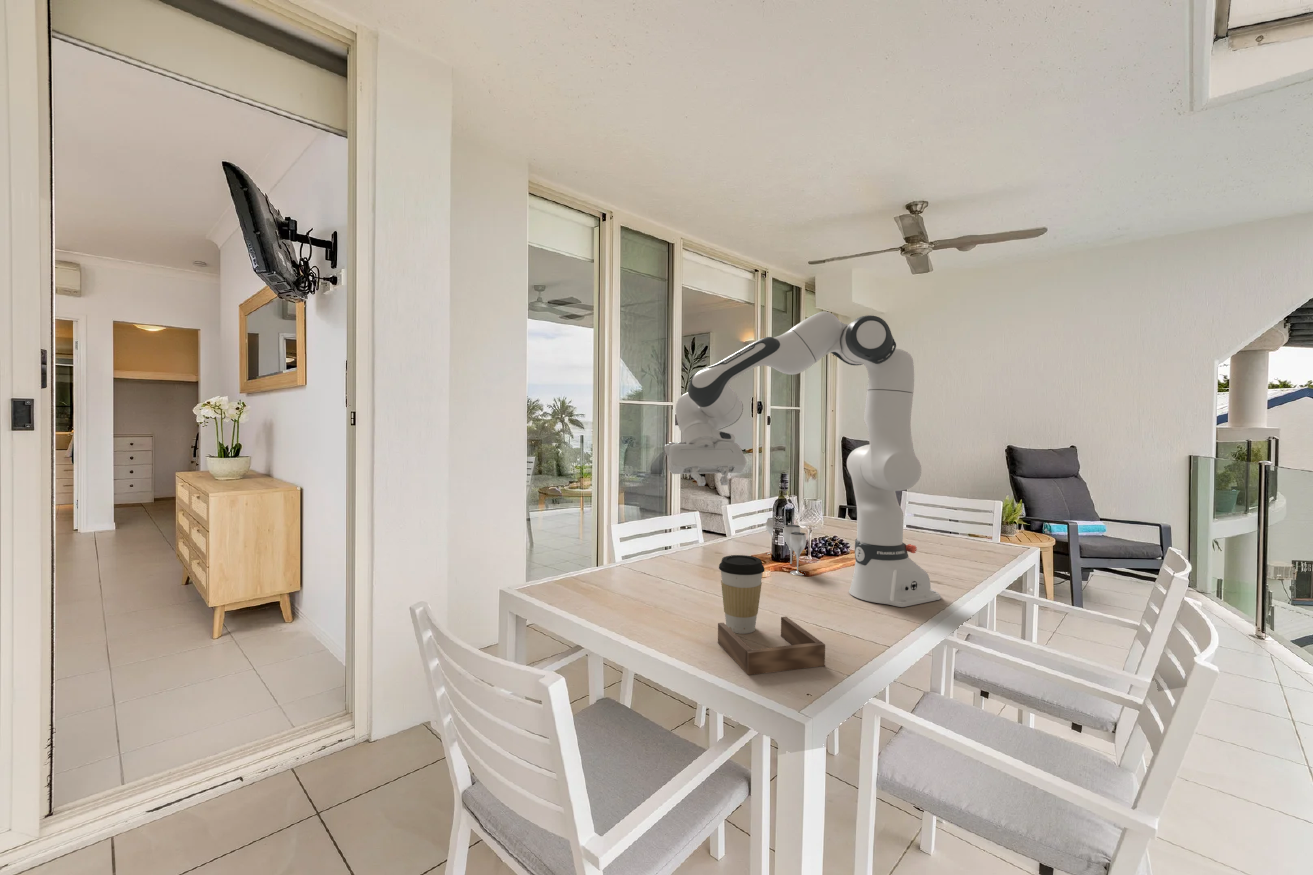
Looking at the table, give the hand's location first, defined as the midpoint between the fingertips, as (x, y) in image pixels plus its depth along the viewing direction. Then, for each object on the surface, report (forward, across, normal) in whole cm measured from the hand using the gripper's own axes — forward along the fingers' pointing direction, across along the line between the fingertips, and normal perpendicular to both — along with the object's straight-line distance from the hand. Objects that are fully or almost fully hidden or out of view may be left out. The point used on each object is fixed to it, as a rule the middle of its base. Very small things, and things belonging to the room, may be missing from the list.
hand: (713, 484), depth 136 cm
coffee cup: (+33, 0, +9) cm, 34 cm away
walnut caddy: (+42, 0, -1) cm, 42 cm away
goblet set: (0, +36, +42) cm, 55 cm away
